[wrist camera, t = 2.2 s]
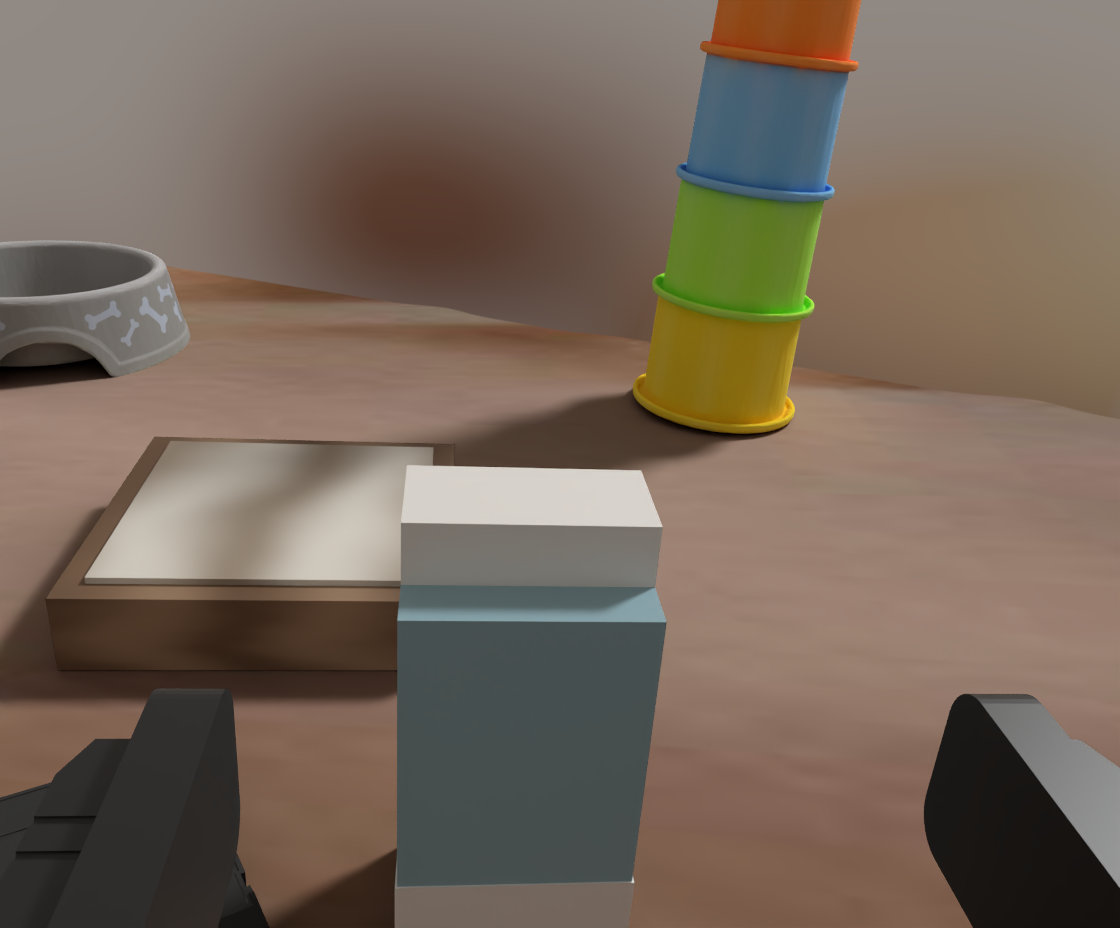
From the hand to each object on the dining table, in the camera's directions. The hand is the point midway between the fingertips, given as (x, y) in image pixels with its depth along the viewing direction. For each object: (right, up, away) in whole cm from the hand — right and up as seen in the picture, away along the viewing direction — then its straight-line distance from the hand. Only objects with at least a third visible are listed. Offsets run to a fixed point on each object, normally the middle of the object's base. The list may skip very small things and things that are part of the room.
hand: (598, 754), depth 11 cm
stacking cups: (+9, +7, +54) cm, 55 cm away
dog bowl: (-35, +11, +56) cm, 67 cm away
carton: (-2, -9, +17) cm, 19 cm away
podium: (-12, -1, +32) cm, 34 cm away
